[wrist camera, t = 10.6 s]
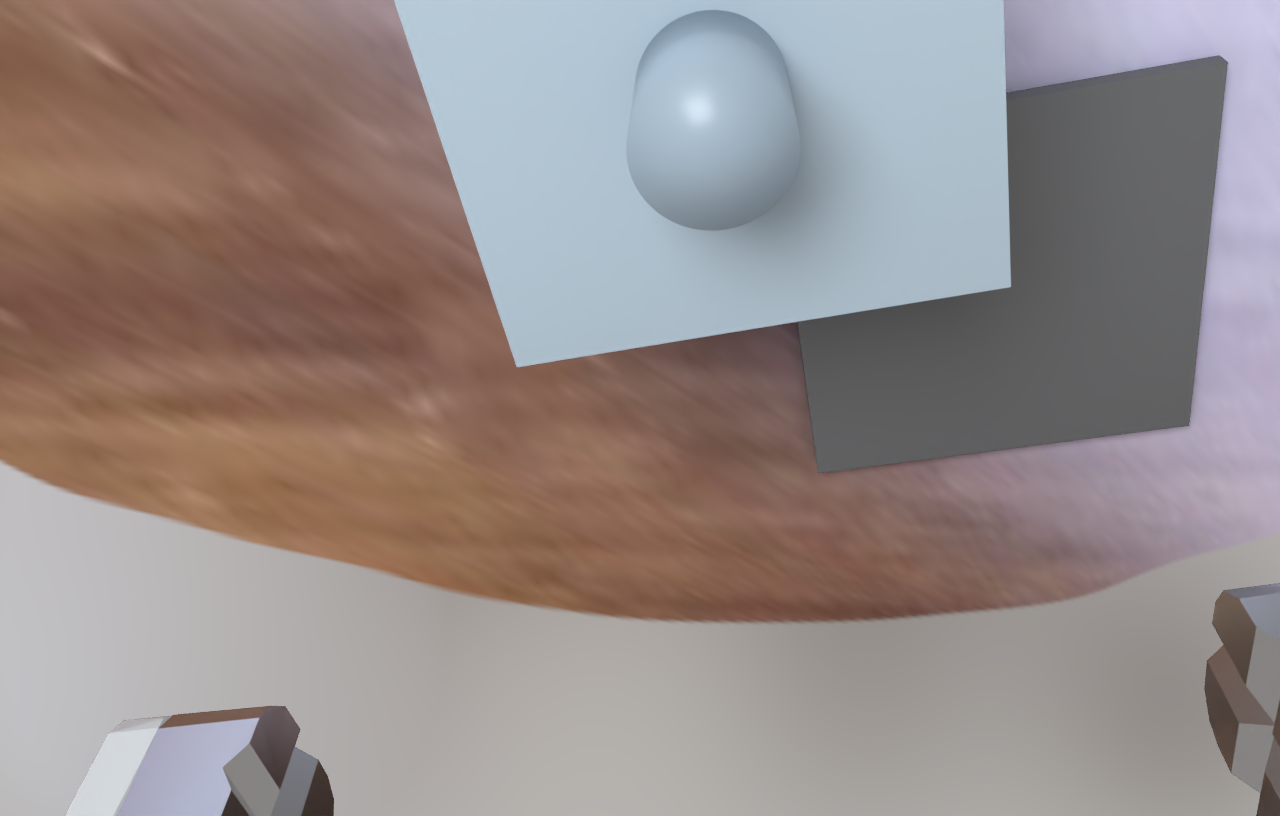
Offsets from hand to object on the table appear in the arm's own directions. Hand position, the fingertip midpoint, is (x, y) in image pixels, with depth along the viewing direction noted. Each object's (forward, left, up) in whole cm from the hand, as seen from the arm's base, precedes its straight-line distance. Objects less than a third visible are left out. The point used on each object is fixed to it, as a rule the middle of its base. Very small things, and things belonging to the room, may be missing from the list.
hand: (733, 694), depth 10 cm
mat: (+8, -12, -26) cm, 29 cm away
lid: (0, 0, -17) cm, 17 cm away
